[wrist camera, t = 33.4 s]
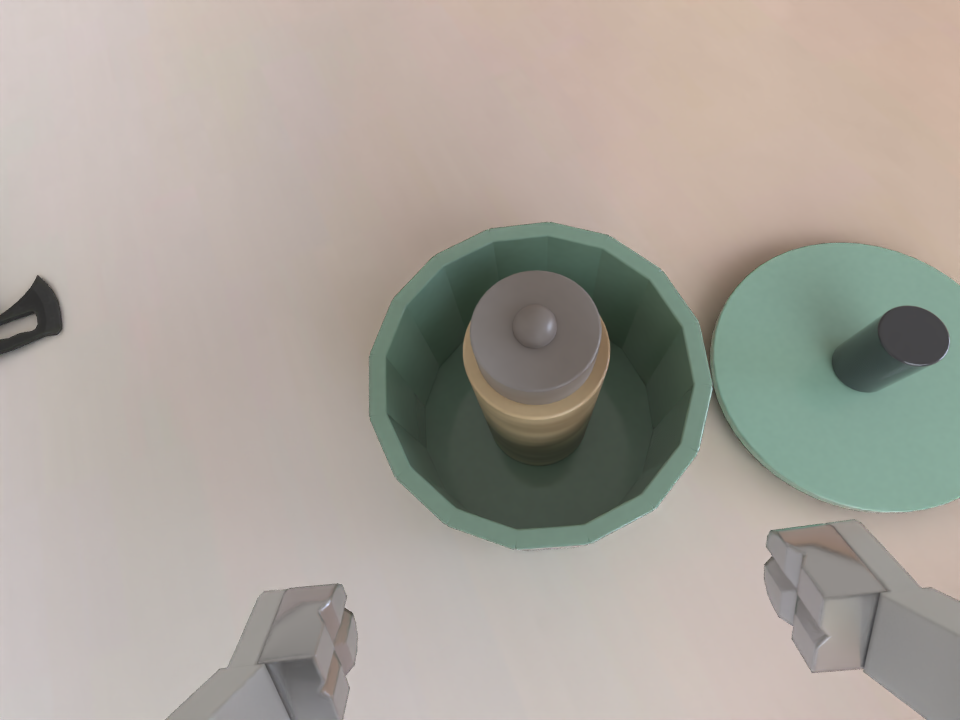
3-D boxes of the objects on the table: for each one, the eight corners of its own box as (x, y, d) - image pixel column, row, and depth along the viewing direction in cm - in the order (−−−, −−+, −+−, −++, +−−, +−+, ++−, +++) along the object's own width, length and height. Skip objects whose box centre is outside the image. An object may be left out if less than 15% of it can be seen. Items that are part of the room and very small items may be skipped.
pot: (480, 597, 23) (454, 616, 16) (379, 372, 27) (322, 309, 20) (713, 474, 24) (784, 440, 17) (582, 271, 28) (595, 175, 21)
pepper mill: (516, 483, 24) (497, 429, 14) (472, 397, 26) (424, 288, 15) (605, 437, 24) (654, 349, 14) (556, 354, 26) (567, 218, 15)
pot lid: (818, 567, 22) (887, 571, 18) (654, 325, 26) (677, 277, 22) (1066, 431, 23) (1194, 401, 19) (870, 215, 27) (936, 147, 23)
